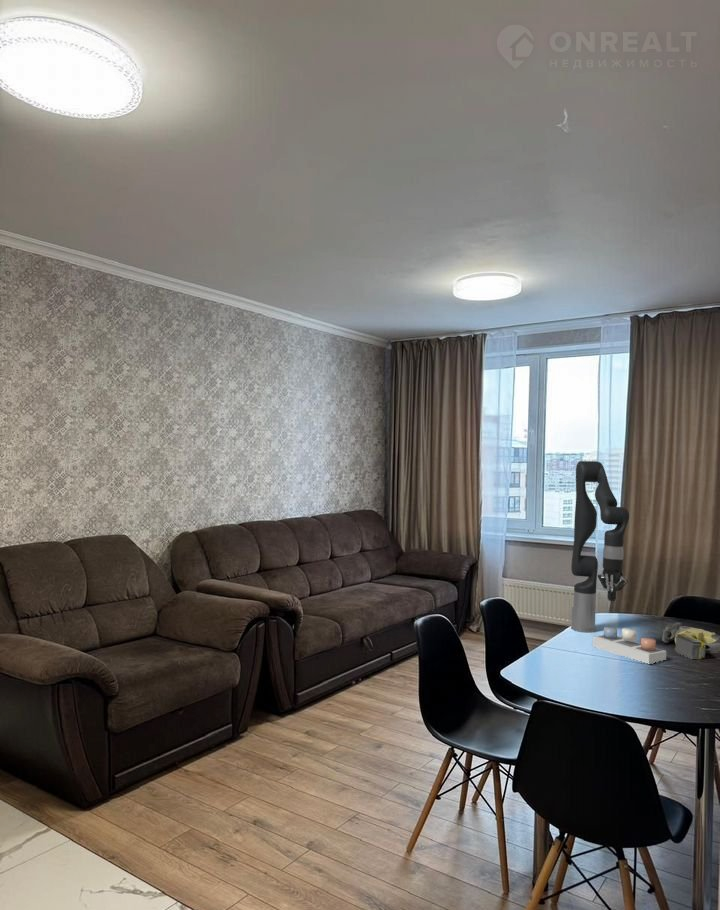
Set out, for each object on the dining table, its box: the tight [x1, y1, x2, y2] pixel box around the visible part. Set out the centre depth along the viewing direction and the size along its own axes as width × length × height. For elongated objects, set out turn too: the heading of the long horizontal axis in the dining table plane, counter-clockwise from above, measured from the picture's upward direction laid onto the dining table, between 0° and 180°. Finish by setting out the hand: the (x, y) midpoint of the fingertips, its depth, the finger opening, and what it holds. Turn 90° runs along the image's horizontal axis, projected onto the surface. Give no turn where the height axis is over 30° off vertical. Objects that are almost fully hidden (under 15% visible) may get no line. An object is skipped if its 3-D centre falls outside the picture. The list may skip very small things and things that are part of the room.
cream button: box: [621, 627, 637, 642], centre depth 248 cm, size 5×5×4 cm
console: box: [592, 634, 667, 664], centre depth 248 cm, size 25×10×4 cm, turn 30°
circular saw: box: [661, 621, 720, 660], centre depth 256 cm, size 10×30×25 cm
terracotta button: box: [640, 637, 657, 651], centre depth 241 cm, size 5×5×4 cm
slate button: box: [603, 626, 618, 639], centre depth 256 cm, size 5×5×4 cm
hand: (611, 600), depth 256 cm, fingers closed
